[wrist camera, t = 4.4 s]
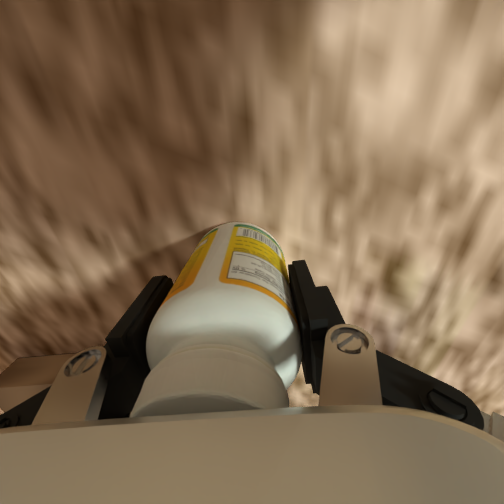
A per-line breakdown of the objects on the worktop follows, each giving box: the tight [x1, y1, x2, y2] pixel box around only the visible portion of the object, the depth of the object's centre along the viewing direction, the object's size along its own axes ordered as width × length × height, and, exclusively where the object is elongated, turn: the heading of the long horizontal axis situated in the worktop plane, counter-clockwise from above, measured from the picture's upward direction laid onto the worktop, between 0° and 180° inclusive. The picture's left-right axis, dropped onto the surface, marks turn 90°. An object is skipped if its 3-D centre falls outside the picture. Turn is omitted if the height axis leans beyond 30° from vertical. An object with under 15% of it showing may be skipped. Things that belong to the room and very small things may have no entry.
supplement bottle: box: [129, 222, 302, 418], centre depth 10 cm, size 5×5×10 cm
